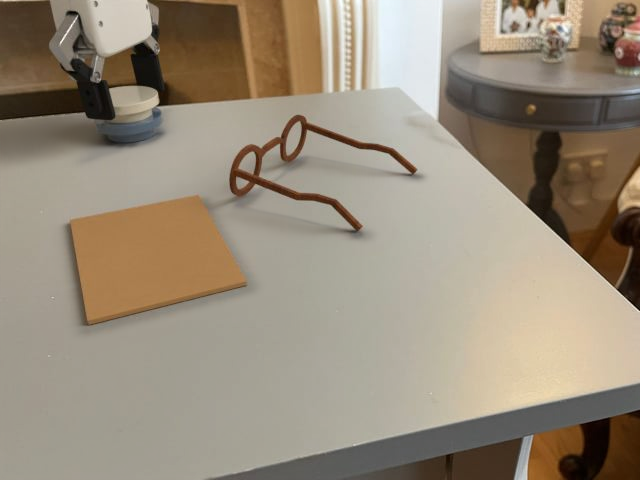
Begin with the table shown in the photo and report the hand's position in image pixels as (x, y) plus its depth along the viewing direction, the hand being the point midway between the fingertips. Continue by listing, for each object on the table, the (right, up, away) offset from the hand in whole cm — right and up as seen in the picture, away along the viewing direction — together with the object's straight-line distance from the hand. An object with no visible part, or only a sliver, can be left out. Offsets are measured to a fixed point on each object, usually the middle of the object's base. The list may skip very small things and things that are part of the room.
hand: (128, 103), depth 72 cm
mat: (+10, -17, -20) cm, 28 cm away
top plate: (0, -1, +1) cm, 1 cm away
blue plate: (0, -3, +2) cm, 4 cm away
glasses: (+23, -11, -10) cm, 27 cm away
